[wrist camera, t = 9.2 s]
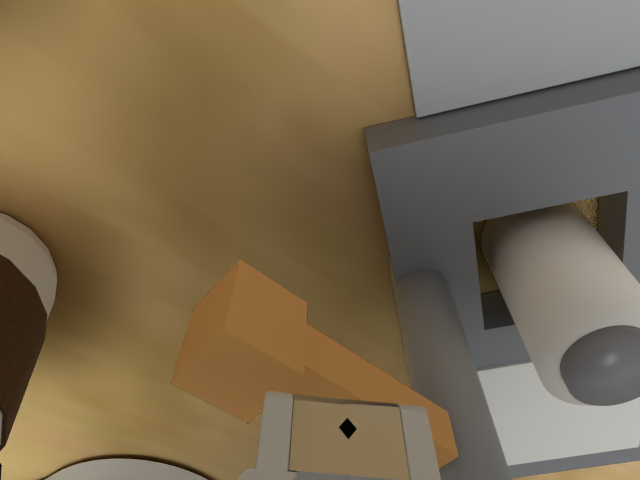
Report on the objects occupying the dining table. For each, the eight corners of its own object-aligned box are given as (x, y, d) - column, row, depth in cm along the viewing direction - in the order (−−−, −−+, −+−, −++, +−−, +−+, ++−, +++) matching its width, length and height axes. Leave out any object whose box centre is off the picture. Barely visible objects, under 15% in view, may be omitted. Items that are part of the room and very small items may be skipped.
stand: (650, 418, 32) (820, 690, 21) (429, 451, 34) (481, 718, 23) (699, 49, 20) (1133, 231, 10) (359, 128, 22) (396, 359, 11)
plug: (548, 284, 27) (632, 430, 19) (464, 260, 26) (519, 403, 19) (602, 207, 24) (722, 341, 17) (511, 178, 23) (596, 306, 16)
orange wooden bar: (239, 259, 14) (224, 329, 11) (449, 394, 16) (468, 471, 14) (192, 310, 15) (170, 383, 12) (398, 429, 17) (409, 506, 15)
